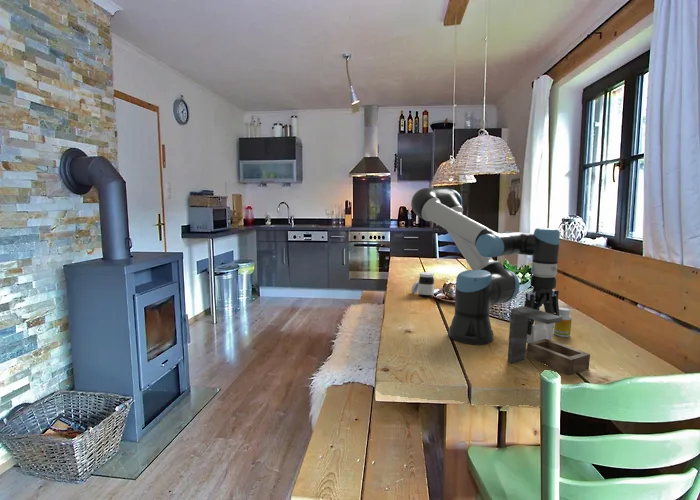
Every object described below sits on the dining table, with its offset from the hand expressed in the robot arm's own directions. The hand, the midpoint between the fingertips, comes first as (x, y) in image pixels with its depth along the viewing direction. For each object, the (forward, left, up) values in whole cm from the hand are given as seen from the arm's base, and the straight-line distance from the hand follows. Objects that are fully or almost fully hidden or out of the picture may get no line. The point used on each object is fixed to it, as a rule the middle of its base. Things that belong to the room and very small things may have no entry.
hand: (538, 340), depth 132 cm
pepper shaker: (0, 0, -2) cm, 2 cm away
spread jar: (-72, +8, -2) cm, 72 cm away
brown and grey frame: (+12, -12, -1) cm, 17 cm away
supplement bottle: (-3, +17, -2) cm, 17 cm away
